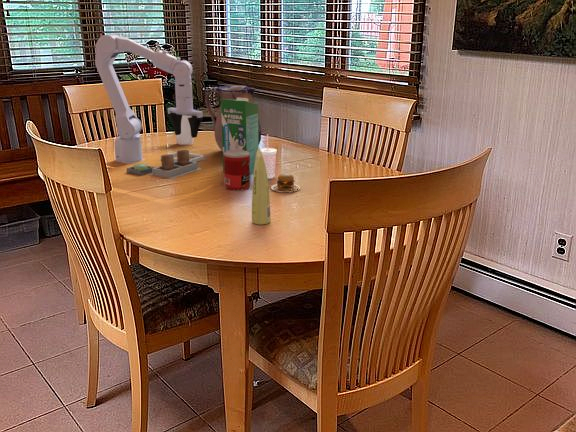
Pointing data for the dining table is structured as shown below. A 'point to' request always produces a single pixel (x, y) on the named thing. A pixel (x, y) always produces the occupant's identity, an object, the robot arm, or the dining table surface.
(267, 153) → the beverage cup
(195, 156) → the white shallow tray
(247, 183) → the canned food
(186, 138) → the foam cup
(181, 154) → the cylinder
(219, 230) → the dining table surface
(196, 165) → the grey rectangular tray
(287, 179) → the hamburger
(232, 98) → the ceramic pitcher
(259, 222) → the tube
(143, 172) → the button housing
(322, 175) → the dining table surface
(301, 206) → the dining table surface
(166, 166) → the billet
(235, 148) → the milk carton
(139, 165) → the button
